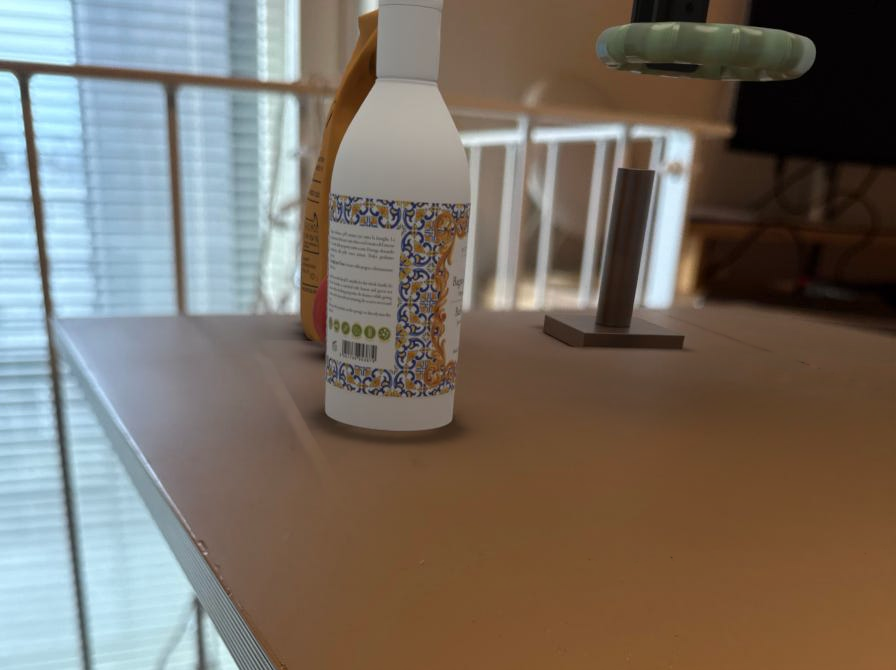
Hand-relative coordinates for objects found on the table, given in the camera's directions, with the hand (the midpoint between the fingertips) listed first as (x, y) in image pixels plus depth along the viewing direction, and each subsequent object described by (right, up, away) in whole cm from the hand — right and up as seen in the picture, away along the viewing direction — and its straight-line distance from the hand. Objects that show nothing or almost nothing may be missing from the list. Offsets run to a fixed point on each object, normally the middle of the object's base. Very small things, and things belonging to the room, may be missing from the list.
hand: (660, 69), depth 58 cm
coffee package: (-19, -10, +19) cm, 29 cm away
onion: (-19, -16, +8) cm, 26 cm away
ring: (+1, -2, -4) cm, 5 cm away
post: (+2, -8, +25) cm, 27 cm away
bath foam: (-16, -23, -5) cm, 28 cm away
